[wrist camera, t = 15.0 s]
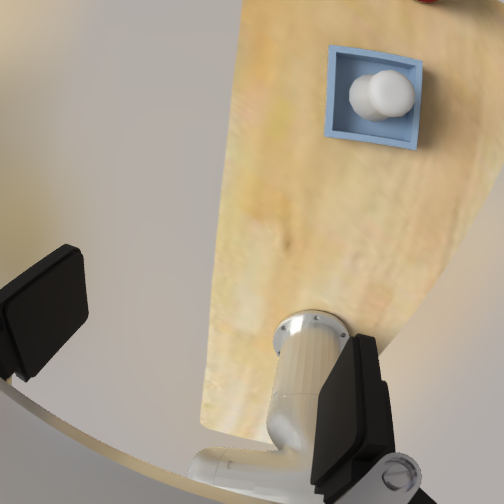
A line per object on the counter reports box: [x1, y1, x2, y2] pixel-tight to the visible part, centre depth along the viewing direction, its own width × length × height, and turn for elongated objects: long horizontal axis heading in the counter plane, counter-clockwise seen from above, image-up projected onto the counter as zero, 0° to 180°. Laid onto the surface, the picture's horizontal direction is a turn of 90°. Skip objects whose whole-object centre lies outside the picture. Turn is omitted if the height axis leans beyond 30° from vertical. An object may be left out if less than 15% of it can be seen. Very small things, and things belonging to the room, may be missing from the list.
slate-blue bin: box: [324, 45, 423, 150], centre depth 32 cm, size 11×11×4 cm
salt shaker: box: [349, 70, 415, 122], centre depth 27 cm, size 6×6×13 cm
